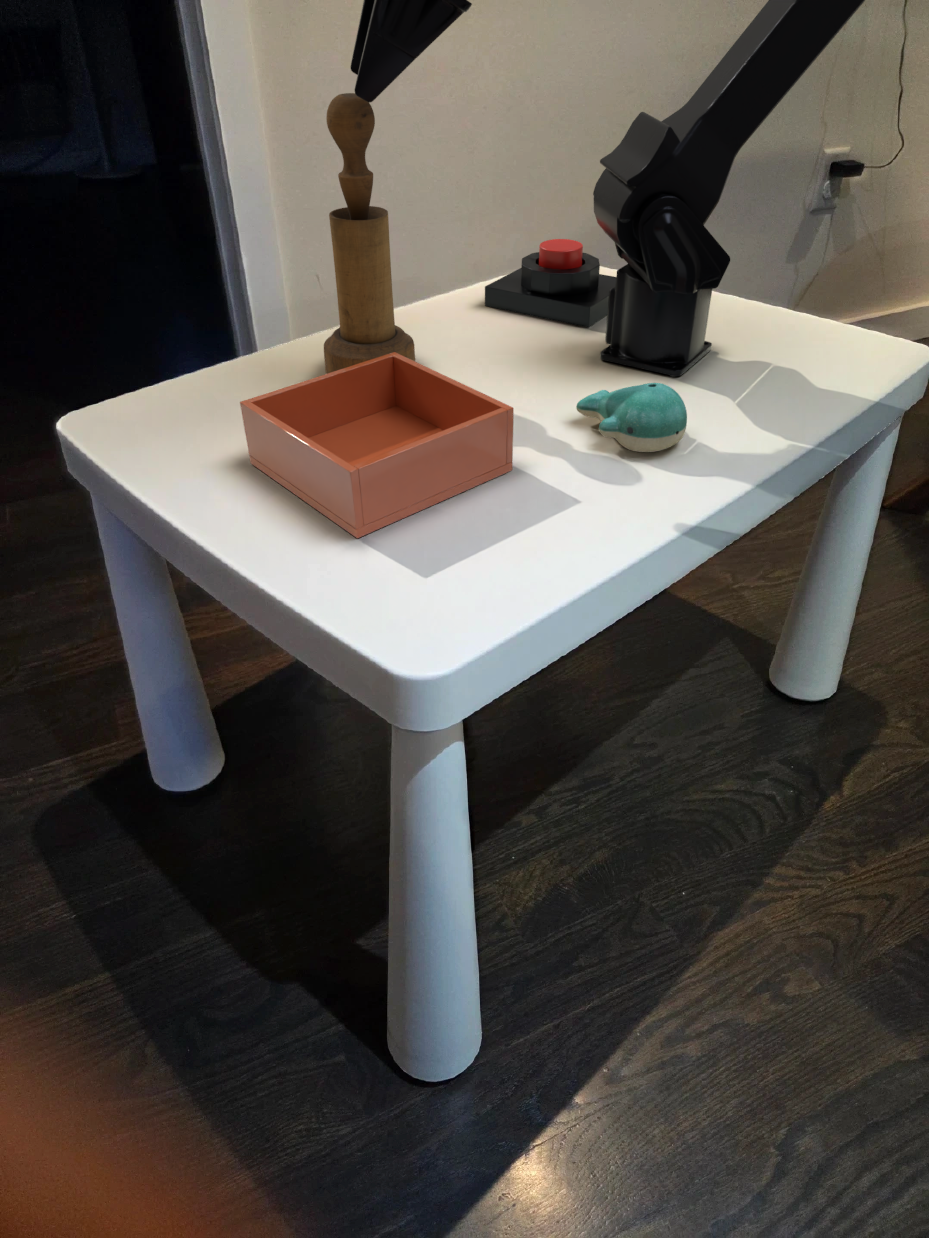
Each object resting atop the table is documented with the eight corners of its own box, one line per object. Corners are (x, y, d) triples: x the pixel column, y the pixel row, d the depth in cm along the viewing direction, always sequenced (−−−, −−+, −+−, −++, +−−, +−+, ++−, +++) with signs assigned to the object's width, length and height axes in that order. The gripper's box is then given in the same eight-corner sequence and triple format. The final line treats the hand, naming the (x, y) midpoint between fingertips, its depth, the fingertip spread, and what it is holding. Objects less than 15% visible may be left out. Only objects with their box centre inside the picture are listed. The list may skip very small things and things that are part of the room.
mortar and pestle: (421, 356, 70) (409, 86, 59) (409, 392, 65) (393, 103, 54) (336, 354, 70) (308, 86, 59) (317, 389, 65) (282, 103, 54)
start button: (589, 264, 77) (590, 242, 76) (568, 275, 75) (570, 253, 74) (551, 257, 79) (552, 236, 78) (530, 268, 76) (531, 247, 75)
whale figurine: (643, 469, 55) (650, 411, 53) (556, 429, 60) (559, 374, 57) (703, 439, 58) (712, 383, 56) (616, 403, 63) (621, 350, 60)
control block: (631, 299, 79) (635, 258, 77) (588, 328, 74) (591, 284, 72) (531, 280, 84) (532, 241, 81) (484, 306, 78) (484, 264, 76)
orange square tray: (398, 409, 62) (394, 351, 60) (512, 470, 55) (514, 407, 53) (250, 463, 57) (239, 401, 54) (357, 538, 50) (350, 471, 47)
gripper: (339, -292, 52) (242, -2, 60) (346, -366, 38) (217, 29, 45) (505, -168, 57) (395, 88, 64) (569, -191, 42) (416, 143, 50)
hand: (359, 86), depth 56 cm, fingers open, 9 cm apart
